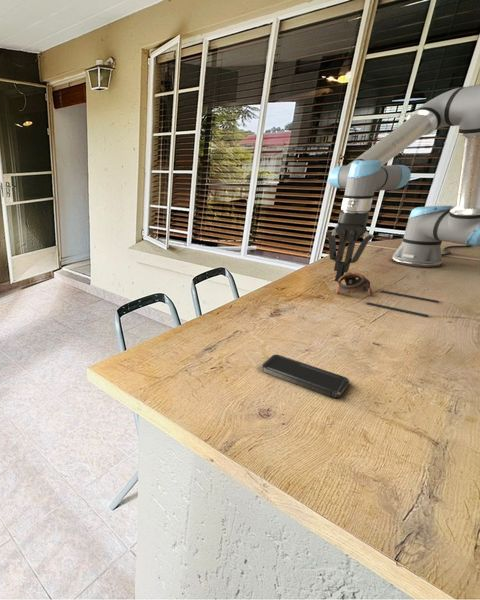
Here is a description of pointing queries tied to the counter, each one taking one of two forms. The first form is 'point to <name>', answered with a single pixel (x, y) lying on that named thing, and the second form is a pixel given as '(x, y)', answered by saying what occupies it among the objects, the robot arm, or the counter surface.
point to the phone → (306, 375)
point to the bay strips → (401, 309)
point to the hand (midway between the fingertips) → (338, 280)
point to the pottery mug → (353, 283)
